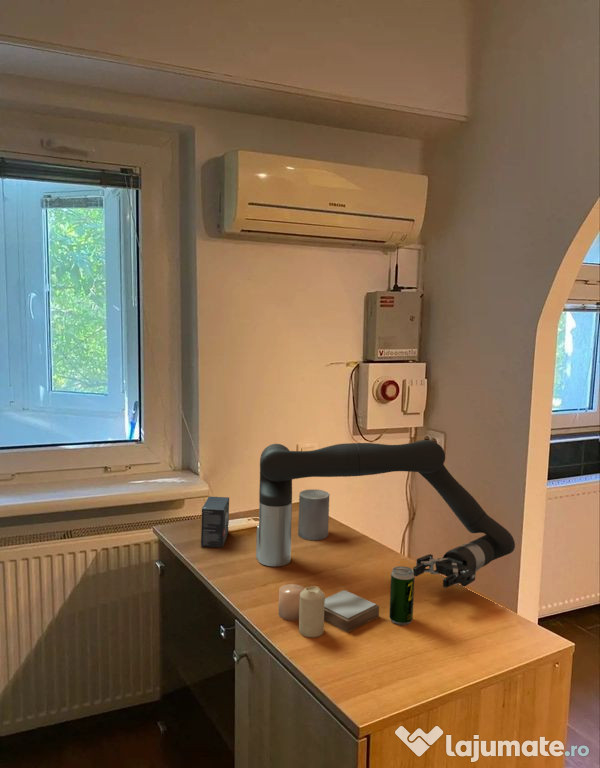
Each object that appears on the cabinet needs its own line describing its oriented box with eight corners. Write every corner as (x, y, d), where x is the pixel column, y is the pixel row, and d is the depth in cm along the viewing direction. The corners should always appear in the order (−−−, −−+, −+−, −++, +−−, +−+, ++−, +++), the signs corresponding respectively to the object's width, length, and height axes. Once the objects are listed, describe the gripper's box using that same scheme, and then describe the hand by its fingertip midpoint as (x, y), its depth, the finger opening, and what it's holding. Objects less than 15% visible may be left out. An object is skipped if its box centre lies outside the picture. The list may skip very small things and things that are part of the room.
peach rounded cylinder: (273, 613, 144) (273, 589, 143) (291, 605, 148) (292, 581, 147) (290, 623, 139) (291, 598, 139) (309, 614, 144) (310, 590, 143)
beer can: (387, 623, 140) (389, 573, 139) (391, 612, 145) (393, 564, 144) (410, 627, 139) (413, 577, 137) (413, 616, 144) (416, 567, 142)
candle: (315, 640, 132) (316, 596, 131) (294, 632, 135) (295, 589, 134) (328, 629, 137) (329, 587, 136) (307, 622, 140) (308, 580, 139)
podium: (312, 614, 144) (312, 602, 143) (343, 600, 151) (344, 588, 151) (347, 632, 136) (348, 619, 136) (378, 616, 144) (379, 604, 143)
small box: (223, 548, 183) (223, 509, 182) (200, 547, 183) (200, 508, 182) (229, 532, 196) (229, 496, 195) (207, 532, 196) (208, 495, 195)
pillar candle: (296, 529, 200) (297, 485, 198) (326, 529, 201) (327, 485, 199) (299, 541, 190) (300, 494, 189) (330, 540, 191) (332, 494, 190)
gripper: (441, 539, 165) (405, 554, 154) (490, 554, 155) (455, 572, 143) (440, 565, 166) (404, 582, 154) (488, 582, 156) (453, 602, 144)
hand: (429, 577), depth 149 cm, fingers open, 8 cm apart
